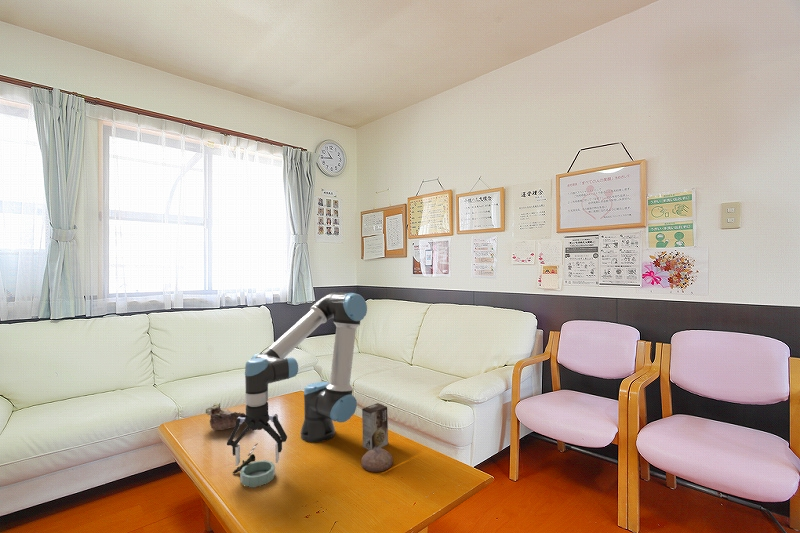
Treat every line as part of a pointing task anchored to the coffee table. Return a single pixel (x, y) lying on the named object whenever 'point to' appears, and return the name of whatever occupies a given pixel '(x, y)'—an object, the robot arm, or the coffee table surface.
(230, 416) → the rock
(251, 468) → the bowl
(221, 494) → the coffee table surface
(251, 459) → the figurine
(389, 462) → the decorative stone
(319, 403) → the robot arm
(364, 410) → the coffee box
